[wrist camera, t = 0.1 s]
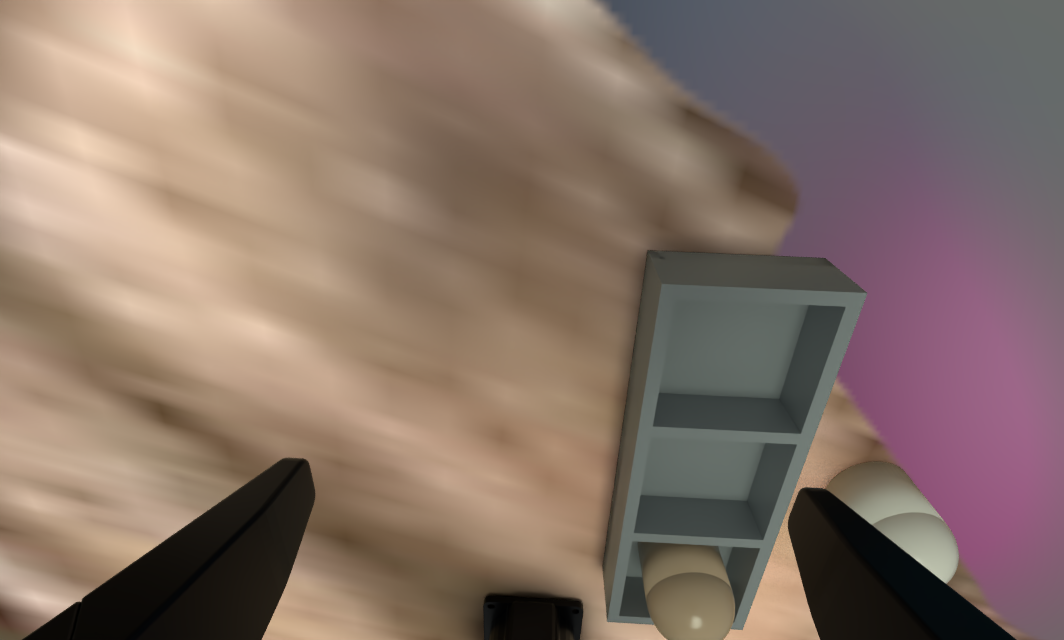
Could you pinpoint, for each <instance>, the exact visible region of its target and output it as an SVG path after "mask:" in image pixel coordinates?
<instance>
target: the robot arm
mask: <svg viewBox="0 0 1064 640" xmlns="http://www.w3.org/2000/svg"><path fill="white" fill-rule="evenodd" d="M314 501H315V487H314V482H313V478H312V473H311V469H310V465H309V462H308V461H307V460H306V459H303V458H283V459H281V460H280V461H278V462H277V463H275V464H274V465H272V466H271V467H270V468H268V469H267V470H265V471H264V472H262V473H261V474H260V475H258V476H257V477H255V478H254V479H252V480H251V481H249V482H248V483H247V484H245V485H244V486H242V487H241V488H239V489H238V490H237V491H235V492H234V493H232V494H231V495H229V496H228V497H227V498H225V499H224V500H222V501H221V502H219V503H218V504H217V505H215V506H214V507H212V508H211V509H209V510H208V511H206V512H205V513H204V514H202V515H201V516H199V517H198V518H196V519H195V520H194V521H192V522H191V523H189V524H188V525H186V526H185V527H184V528H182V529H181V530H179V531H178V532H176V533H175V534H174V535H172V536H171V537H169V538H168V539H166V540H165V541H164V542H162V543H161V544H159V545H158V546H156V547H155V548H153V549H152V550H151V551H149V552H148V553H146V554H145V555H143V556H142V557H141V558H139V559H138V560H136V561H135V562H133V563H132V564H131V565H129V566H128V567H126V568H125V569H123V570H122V571H121V572H119V573H118V574H116V575H115V576H113V577H112V578H110V579H109V580H108V581H106V582H105V583H103V584H102V585H100V586H99V587H98V588H96V589H95V590H93V591H92V592H90V593H89V594H88V595H86V596H85V597H84V598H83V599H82V601H81V602H76V603H74V604H73V605H72V606H70V607H69V608H67V609H66V610H64V611H63V612H62V613H60V614H59V615H57V616H56V617H54V618H53V619H51V620H50V621H49V622H47V623H46V624H44V625H43V626H41V627H40V628H38V629H37V630H35V631H34V632H32V633H31V634H29V635H28V636H26V637H25V638H23V639H22V640H262V638H263V635H264V633H265V631H266V629H267V627H268V624H269V622H270V620H271V618H272V616H273V613H274V611H275V609H276V607H277V605H278V602H279V600H280V598H281V596H282V593H283V591H284V589H285V586H286V584H287V581H288V579H289V576H290V573H291V570H292V568H293V565H294V562H295V559H296V556H297V553H298V550H299V547H300V544H301V541H302V538H303V535H304V532H305V529H306V526H307V523H308V520H309V517H310V514H311V511H312V508H313V505H314ZM788 531H789V535H790V539H791V542H792V546H793V550H794V554H795V557H796V561H797V565H798V568H799V572H800V576H801V580H802V583H803V587H804V591H805V594H806V598H807V602H808V605H809V609H810V612H811V615H812V618H813V621H814V624H815V627H816V629H817V632H818V635H819V637H820V640H1016V639H1015V638H1014V637H1012V636H1011V635H1010V634H1009V633H1007V632H1006V631H1005V630H1004V629H1002V628H1001V627H1000V626H999V625H997V624H996V623H995V622H994V621H992V620H991V619H990V618H989V617H987V616H986V615H985V614H983V613H982V612H981V611H980V610H978V609H977V608H976V607H975V606H973V605H972V604H971V603H970V602H968V601H967V600H966V599H965V598H963V597H962V596H961V595H960V594H958V593H957V592H956V591H955V590H953V589H952V588H951V587H949V586H948V585H947V584H946V583H944V582H943V581H942V580H941V579H939V578H938V577H937V576H936V575H934V574H933V573H932V572H931V571H929V570H928V569H927V568H926V567H924V566H923V565H922V564H921V563H919V562H918V561H917V560H915V559H914V558H913V557H912V556H910V555H909V554H908V553H907V552H905V551H904V550H903V549H902V548H900V547H899V546H898V545H897V544H895V543H894V542H893V541H892V540H890V539H889V538H888V537H887V536H885V535H884V534H883V533H881V532H880V531H879V530H878V529H876V528H875V527H874V526H873V525H871V524H870V523H869V522H868V521H866V520H865V519H864V518H863V517H861V516H860V515H859V514H858V513H856V512H855V511H854V510H853V509H851V508H850V507H849V506H847V505H846V504H845V503H844V502H842V501H841V500H840V499H839V498H837V497H836V496H835V495H834V494H832V493H831V492H830V491H828V490H826V489H823V488H808V487H805V488H802V489H801V490H800V491H799V493H798V495H797V498H796V500H795V503H794V505H793V508H792V511H791V513H790V516H789V519H788ZM483 607H484V640H580V634H581V626H582V618H583V604H582V603H581V602H579V601H569V600H552V599H535V598H518V597H500V596H488V597H486V598H485V599H484V606H483Z"/></svg>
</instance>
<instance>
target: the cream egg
mask: <svg viewBox="0 0 1064 640" xmlns="http://www.w3.org/2000/svg"><path fill="white" fill-rule="evenodd" d="M826 490H828V491H830V492H831V493H832V494H834V495H835V496H836V497H837V498H839V499H840V500H841V501H842V502H844V503H845V504H846V505H847V506H849V507H850V508H851V509H853V510H854V511H855V512H856V513H858V514H859V515H860V516H861V517H863V518H864V519H865V520H866V521H868V522H869V523H870V524H871V525H873V526H874V527H875V528H876V529H878V530H879V531H880V532H881V533H883V534H884V535H885V536H887V537H888V538H889V539H890V540H892V541H893V542H894V543H895V544H897V545H898V546H899V547H900V548H902V549H903V550H904V551H905V552H907V553H908V554H909V555H910V556H912V557H913V558H914V559H915V560H917V561H918V562H919V563H921V564H922V565H923V566H924V567H926V568H927V569H928V570H929V571H931V572H932V573H933V574H934V575H936V576H937V577H938V578H939V579H941V580H942V581H943V582H944V583H946V584H947V583H948V582H949V581H950V580H951V578H952V577H953V575H954V573H955V572H956V569H957V565H958V558H959V554H958V546H957V544H956V540H955V537H954V535H953V534H952V532H951V530H950V529H949V527H948V526H947V524H946V523H945V522H944V520H943V519H942V518H941V517H940V515H939V514H938V513H937V512H936V510H935V509H934V508H933V507H932V505H931V504H930V503H929V502H928V500H927V499H926V498H925V497H924V495H923V494H922V493H921V492H920V490H919V489H918V488H917V487H916V485H915V484H914V483H913V481H912V480H911V479H910V478H909V476H908V475H907V474H906V473H905V472H904V471H903V470H902V469H901V468H900V467H898V466H896V465H894V464H891V463H887V462H866V463H861V464H857V465H854V466H852V467H849V468H847V469H845V470H844V471H842V472H840V473H839V474H838V475H836V476H835V477H834V478H833V479H832V480H831V481H830V483H829V484H828V485H827V487H826Z"/></svg>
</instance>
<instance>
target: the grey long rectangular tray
mask: <svg viewBox="0 0 1064 640" xmlns="http://www.w3.org/2000/svg"><path fill="white" fill-rule="evenodd" d="M866 295H867V292H865V291H864V290H863V289H862V288H860V287H859V286H858V285H857V284H855V282H853V281H852V280H851V279H850V278H849V277H847V276H846V275H845V274H844V273H842V272H841V271H840V270H839V269H838V268H836V267H835V266H834V265H833V264H832V263H830V262H829V261H828V260H827V259H826V258H812V257H811V258H810V257H788V256H765V255H742V254H718V253H695V252H671V251H648V252H647V259H646V266H645V273H644V280H643V287H642V294H641V301H640V308H639V315H638V322H637V329H636V336H635V343H634V350H633V357H632V364H631V371H630V378H629V385H628V392H627V399H626V406H625V413H624V420H623V427H622V434H621V441H620V448H619V455H618V462H617V469H616V476H615V483H614V490H613V497H612V504H611V511H610V518H609V525H608V532H607V539H606V546H605V553H604V560H603V578H604V590H605V602H606V613H607V622H618V623H635V624H652V625H654V623H653V621H652V619H651V617H650V615H649V612H648V608H647V603H646V597H645V591H644V584H643V578H642V572H641V565H640V559H639V553H638V542H656V543H674V544H692V545H710V546H718V547H719V550H720V554H721V557H722V560H723V563H724V566H725V569H726V573H727V576H728V579H729V582H730V585H731V588H732V592H733V596H734V600H735V617H734V621H733V624H732V627H731V629H736V630H743V627H744V624H745V622H746V619H747V616H748V614H749V611H750V608H751V606H752V603H753V600H754V598H755V595H756V592H757V589H758V587H759V584H760V581H761V579H762V576H763V573H764V571H765V568H766V565H767V562H768V560H769V557H770V554H771V552H772V549H773V546H774V544H775V541H776V538H777V535H778V533H779V530H780V527H781V525H782V522H783V519H784V517H785V514H786V511H787V509H788V506H789V503H790V500H791V498H792V495H793V492H794V490H795V487H796V484H797V482H798V479H799V476H800V473H801V471H802V468H803V465H804V463H805V460H806V457H807V455H808V452H809V449H810V446H811V444H812V441H813V438H814V436H815V433H816V430H817V428H818V425H819V422H820V420H821V417H822V414H823V411H824V409H825V406H826V403H827V401H828V398H829V395H830V393H831V390H832V387H833V384H834V382H835V379H836V376H837V374H838V371H839V368H840V366H841V363H842V360H843V357H844V355H845V352H846V349H847V347H848V344H849V341H850V338H851V336H852V333H853V330H854V328H855V325H856V322H857V320H858V317H859V314H860V312H861V309H862V306H863V304H864V301H865V298H866Z"/></svg>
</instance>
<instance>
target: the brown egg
mask: <svg viewBox="0 0 1064 640" xmlns="http://www.w3.org/2000/svg"><path fill="white" fill-rule="evenodd" d="M638 553H639V559H640V565H641V572H642V578H643V584H644V591H645V597H646V603H647V608H648V612H649V615H650V617H651V619H652V621H653V623H654V625H655V626H656V628H657V629H658V631H659V632H660V633H661V634H662V635H663V636H664V637H665V638H666V639H667V640H723V639H724V638H725V637H726V636H727V634H728V633H729V631H730V629H731V627H732V624H733V621H734V617H735V600H734V596H733V592H732V588H731V585H730V582H729V579H728V576H727V573H726V569H725V566H724V563H723V560H722V557H721V554H720V550H719V547H718V546H710V545H692V544H674V543H656V542H638Z"/></svg>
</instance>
